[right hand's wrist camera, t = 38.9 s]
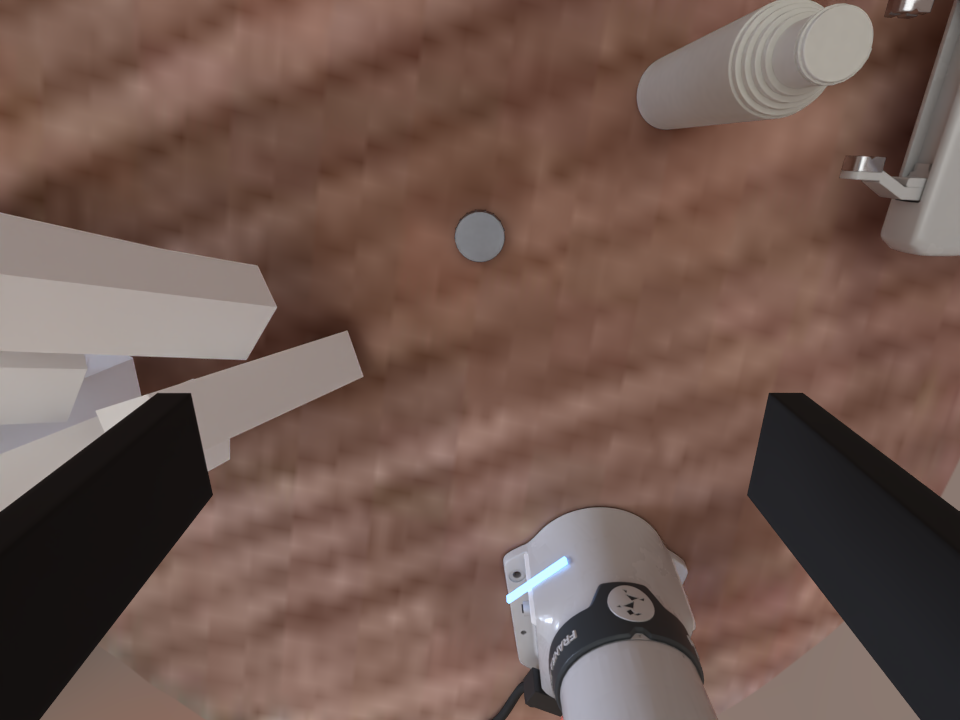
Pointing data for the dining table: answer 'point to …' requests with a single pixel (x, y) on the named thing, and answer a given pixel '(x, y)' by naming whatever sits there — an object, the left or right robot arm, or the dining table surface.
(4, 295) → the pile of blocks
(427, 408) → the dining table surface
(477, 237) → the cap
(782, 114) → the bottle
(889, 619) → the right robot arm
